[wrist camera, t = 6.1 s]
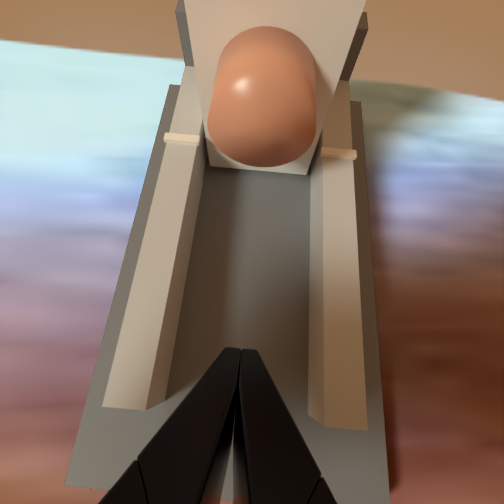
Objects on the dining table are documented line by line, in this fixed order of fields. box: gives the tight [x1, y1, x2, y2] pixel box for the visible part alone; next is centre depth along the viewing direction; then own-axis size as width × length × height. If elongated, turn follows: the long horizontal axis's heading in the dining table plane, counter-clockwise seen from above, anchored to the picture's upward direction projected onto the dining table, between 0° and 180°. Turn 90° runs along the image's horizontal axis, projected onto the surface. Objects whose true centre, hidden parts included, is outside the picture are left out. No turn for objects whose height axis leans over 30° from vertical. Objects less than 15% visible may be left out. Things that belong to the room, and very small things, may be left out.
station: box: [64, 0, 390, 504], centre depth 12 cm, size 20×12×6 cm, turn 175°
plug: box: [184, 0, 366, 175], centre depth 10 cm, size 6×5×11 cm
